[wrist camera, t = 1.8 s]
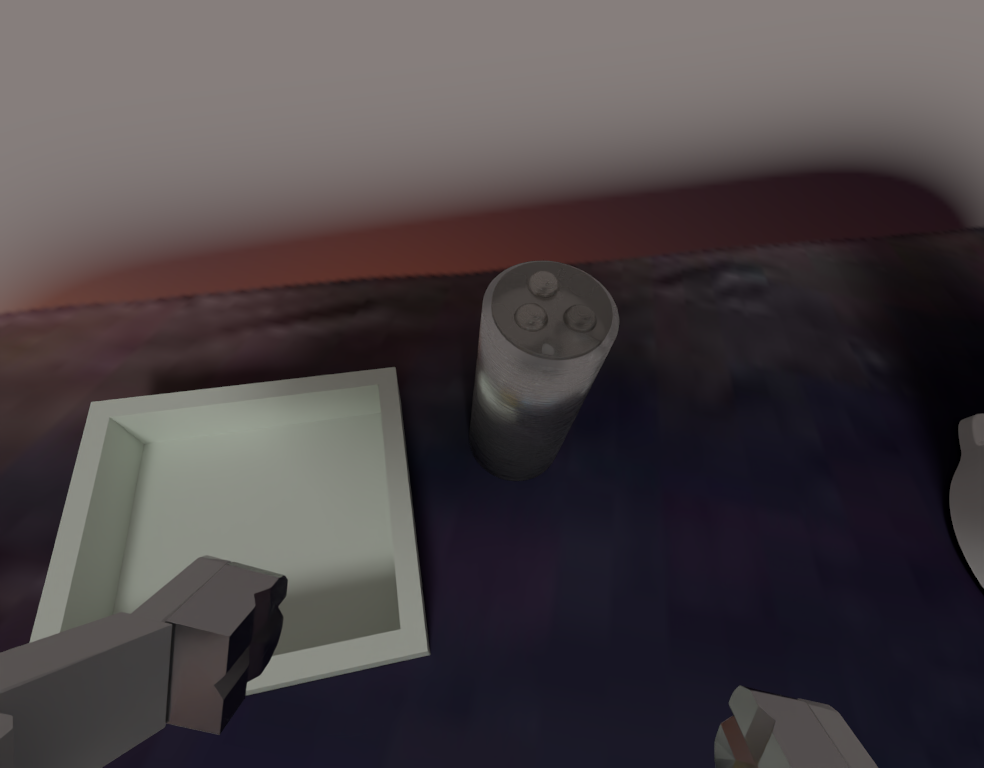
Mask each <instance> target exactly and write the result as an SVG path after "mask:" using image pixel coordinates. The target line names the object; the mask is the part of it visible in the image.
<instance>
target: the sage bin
mask: <svg viewBox="0 0 984 768" xmlns="http://www.w3.org/2000/svg"><path fill="white" fill-rule="evenodd" d="M206 555H209V556H213V557H216V558H220V559H224V560H228V561H231V562H237V563H241V564H244V565H248V566H252V567H256V568H259V569H263V570H267V571H271V572H274V573H278V574H282V575H285V576H286V578H287V579H288V585H287V596H286V597H285V599H284V600H283V601H282V603H281V604H280V605H279V606H278V607H279V609H280V611H281V613H282V615H283V617H284V619H283V626H282V631H281V635H280V638H279V642H278V644H277V647H276V649H275V651H274V653H273V655H272V657H271V660H270V662H269V663H268V665H267V666H266V668H265V669H264V671H263V672H262V674H261V675H260V676H258V677H256V678H254V679H252V680H251V681H249V682H247V687H246V695H251V694H255V693H260V692H265V691H269V690H274V689H278V688H283V687H287V686H292V685H296V684H301V683H305V682H310V681H314V680H319V679H323V678H328V677H332V676H337V675H341V674H346V673H350V672H355V671H359V670H364V669H368V668H373V667H377V666H382V665H387V664H391V663H396V662H400V661H405V660H409V659H414V658H418V657H423V656H427V655H430V649H429V640H428V631H427V623H426V614H425V605H424V597H423V588H422V580H421V571H420V562H419V554H418V545H417V536H416V528H415V519H414V511H413V502H412V493H411V485H410V476H409V467H408V459H407V450H406V442H405V433H404V424H403V416H402V407H401V399H400V393H399V387H398V380H397V374H396V368H395V367H390V368H382V369H373V370H364V371H356V372H347V373H339V374H330V375H321V376H313V377H304V378H295V379H287V380H278V381H270V382H261V383H252V384H244V385H235V386H226V387H218V388H209V389H200V390H192V391H183V392H175V393H166V394H157V395H149V396H140V397H131V398H123V399H114V400H106V401H97V402H91V405H90V409H89V413H88V417H87V421H86V425H85V428H84V432H83V436H82V440H81V444H80V448H79V452H78V456H77V460H76V464H75V467H74V471H73V475H72V479H71V483H70V487H69V491H68V495H67V499H66V503H65V506H64V510H63V514H62V518H61V522H60V526H59V530H58V534H57V538H56V542H55V545H54V549H53V553H52V557H51V561H50V565H49V569H48V573H47V577H46V581H45V584H44V588H43V592H42V596H41V600H40V604H39V608H38V612H37V616H36V620H35V623H34V627H33V631H32V635H31V639H30V643H31V642H34V641H37V640H40V639H43V638H46V637H48V636H51V635H54V634H57V633H60V632H63V631H66V630H69V629H72V628H75V627H78V626H81V625H84V624H87V623H90V622H93V621H96V620H99V619H102V618H105V617H108V616H111V615H113V614H116V613H119V612H125V613H129V614H131V613H132V612H133V611H134V610H136V609H137V608H138V607H139V606H141V605H142V604H143V603H144V602H145V601H147V600H148V599H149V598H150V597H151V596H153V595H154V594H155V593H156V592H157V591H159V590H160V589H161V588H162V587H163V586H165V585H166V584H167V583H168V582H169V581H171V580H172V579H173V578H174V577H175V576H177V575H178V574H179V573H180V572H181V571H183V570H184V569H185V568H186V567H187V566H189V565H190V564H191V563H192V562H193V561H195V560H196V559H197V558H199V557H202V556H206ZM246 695H245V696H246Z"/></svg>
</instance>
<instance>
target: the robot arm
mask: <svg viewBox="0 0 984 768" xmlns="http://www.w3.org/2000/svg"><path fill="white" fill-rule="evenodd" d="M958 435H959V442H960V448H961V459H960V462H959V465H958V467H957V469H956V471H955V474H954V476H953V479H952V482H951V486H950V494H949V505H950V514H951V519H952V523H953V528H954V531H955V534H956V537H957V540H958V542H959V545H960V547H961V550H962V552H963V554H964V556H965V558H966V560H967V562H968V564H969V566H970V568H971V569H972V571H973V573H974V575H975V576H976V578H977V579H978V581H979V582H980V584H981V585H982V587H983V588H984V414H976V415H973V416H971V417H968V418H965V419H963V420H961V421H960V423H959V426H958ZM287 585H288V579H287V578H286V576H285V575H282V574H278V573H274V572H271V571H267V570H263V569H259V568H256V567H252V566H248V565H244V564H241V563H237V562H231V561H228V560H224V559H220V558H216V557H213V556H209V555H206V556H202V557H199V558H197V559H196V560H195V561H193V562H192V563H191V564H190V565H189V566H187V567H186V568H185V569H184V570H183V571H181V572H180V573H179V574H178V575H177V576H175V577H174V578H173V579H172V580H171V581H169V582H168V583H167V584H166V585H165V586H163V587H162V588H161V589H160V590H159V591H157V592H156V593H155V594H154V595H153V596H151V597H150V598H149V599H148V600H147V601H145V602H144V603H143V604H142V605H141V606H139V607H138V608H137V609H136V610H134V611H133V612H132V613H131V614H129V613H125V612H119V613H116V614H113V615H111V616H108V617H105V618H102V619H99V620H96V621H93V622H90V623H87V624H84V625H81V626H78V627H75V628H72V629H69V630H66V631H63V632H60V633H57V634H54V635H51V636H48V637H46V638H43V639H40V640H37V641H34V642H31V643H28V644H25V645H22V646H19V647H16V648H13V649H10V650H7V651H4V652H1V653H0V768H102V767H103V766H105V765H106V764H108V763H109V762H111V761H113V760H114V759H116V758H117V757H119V756H120V755H122V754H123V753H125V752H127V751H128V750H130V749H131V748H133V747H134V746H136V745H137V744H139V743H141V742H142V741H144V740H145V739H147V738H148V737H150V736H152V735H153V734H155V733H156V732H158V731H159V730H161V729H162V728H164V727H165V724H166V723H168V724H172V725H177V726H182V727H186V728H191V729H195V730H200V731H205V732H209V733H214V734H218V735H220V734H221V732H222V731H223V729H224V728H225V726H226V725H227V723H228V722H229V720H230V719H231V718H232V716H233V715H234V713H235V712H236V710H237V709H238V707H239V706H240V705H241V703H242V702H243V700H244V699H245V695H246V687H247V682H249V681H251V680H252V679H254V678H256V677H258V676H260V675H261V674H262V672H263V671H264V669H265V668H266V666H267V665H268V663H269V662H270V660H271V657H272V655H273V653H274V651H275V649H276V647H277V644H278V642H279V638H280V635H281V631H282V626H283V619H284V617H283V615H282V613H281V611H280V609H279V607H278V606H279V605H280V604H281V603H282V601H283V600H284V599H285V597H286V596H287ZM729 705H730V708H731V710H732V713H733V716H732V717H730V718H729V719H727V720H726V721H724V722H723V723H721V724H720V727H719V730H718V732H717V735H716V738H715V757H714V759H715V764H716V768H878V767H877V765H876V764H875V763H874V761H873V760H872V758H871V757H870V756H869V754H868V753H867V751H866V750H865V749H864V747H863V746H862V744H861V743H860V742H859V740H858V739H857V738H856V736H855V735H854V733H853V732H852V731H851V729H850V728H849V726H848V725H847V724H846V722H845V721H844V719H843V718H842V717H841V715H840V714H839V713H838V712H837V711H836V710H835V709H834V708H832V707H831V706H830V705H827V704H822V703H818V702H813V701H808V700H804V699H795V698H791V697H787V696H783V695H778V694H774V693H770V692H766V691H761V690H757V689H753V688H749V687H744V686H739V687H738V688H737V689H736V690H735V691H734V692H733V694H732V697H731V699H730V701H729Z"/></svg>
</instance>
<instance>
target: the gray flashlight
mask: <svg viewBox="0 0 984 768" xmlns="http://www.w3.org/2000/svg"><path fill="white" fill-rule="evenodd" d="M618 329H619V315H618V310H617V307H616V304H615V302H614V300H613V298H612V296H611V295H610V293H609V292H608V291H607V290H606V288H605V287H604V286H603V285H602V284H601V283H600V282H599V281H598V280H596V279H595V278H594V277H592V276H591V275H589V274H588V273H586V272H584V271H582V270H580V269H578V268H576V267H573V266H570V265H567V264H563V263H559V262H553V261H531V262H525V263H521V264H517V265H515V266H512V267H510V268H508V269H506V270H504V271H503V272H501V273H500V274H499V275H498V276H496V277H495V278H494V279H493V281H492V282H491V283H490V284H489V286H488V288H487V289H486V292H485V295H484V298H483V304H482V314H481V323H480V333H479V343H478V353H477V363H476V372H475V382H474V392H473V402H472V411H471V421H470V431H469V443H470V447H471V451H472V453H473V455H474V457H475V459H476V460H477V462H478V463H479V464H480V465H481V466H482V467H483V468H484V469H485V470H486V471H487V472H489V473H490V474H492V475H494V476H496V477H498V478H501V479H504V480H509V481H524V480H529V479H532V478H534V477H537V476H539V475H540V474H542V473H543V472H545V471H546V470H547V469H548V468H549V467H550V465H551V464H552V463H553V461H554V459H555V457H556V455H557V453H558V451H559V449H560V447H561V445H562V443H563V441H564V439H565V437H566V435H567V433H568V432H569V430H570V428H571V426H572V424H573V422H574V420H575V418H576V416H577V414H578V412H579V410H580V408H581V406H582V404H583V402H584V400H585V398H586V396H587V394H588V392H589V390H590V388H591V386H592V384H593V382H594V380H595V378H596V376H597V374H598V372H599V370H600V368H601V366H602V364H603V362H604V360H605V358H606V356H607V354H608V352H609V350H610V348H611V347H612V345H613V343H614V341H615V339H616V336H617V333H618Z"/></svg>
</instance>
